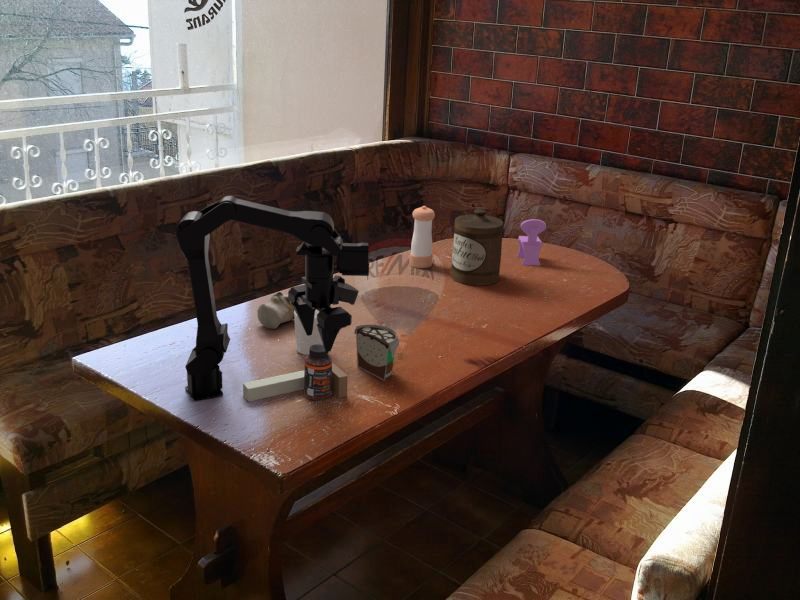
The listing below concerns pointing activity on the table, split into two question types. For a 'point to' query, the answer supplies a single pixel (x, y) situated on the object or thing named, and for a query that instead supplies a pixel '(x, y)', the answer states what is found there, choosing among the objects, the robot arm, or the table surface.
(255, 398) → the wall board
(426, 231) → the pepper shaker
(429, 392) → the table surface
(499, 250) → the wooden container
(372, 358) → the food container
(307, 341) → the white cup
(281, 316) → the ceramic sculpture
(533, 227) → the toy chair
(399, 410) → the table surface
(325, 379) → the supplement bottle
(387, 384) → the table surface
